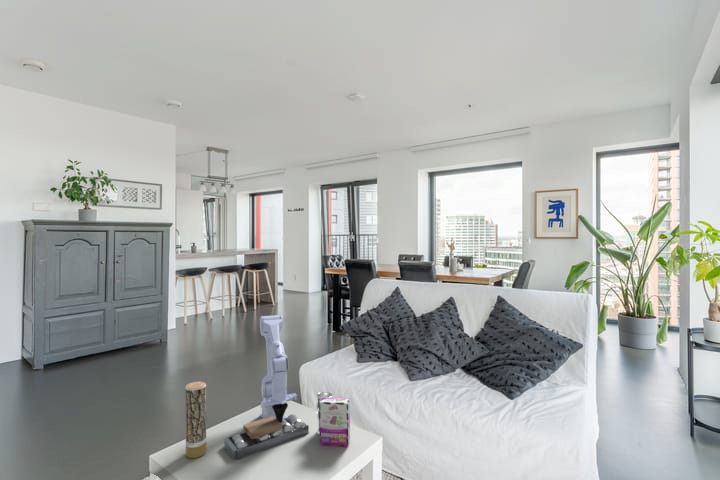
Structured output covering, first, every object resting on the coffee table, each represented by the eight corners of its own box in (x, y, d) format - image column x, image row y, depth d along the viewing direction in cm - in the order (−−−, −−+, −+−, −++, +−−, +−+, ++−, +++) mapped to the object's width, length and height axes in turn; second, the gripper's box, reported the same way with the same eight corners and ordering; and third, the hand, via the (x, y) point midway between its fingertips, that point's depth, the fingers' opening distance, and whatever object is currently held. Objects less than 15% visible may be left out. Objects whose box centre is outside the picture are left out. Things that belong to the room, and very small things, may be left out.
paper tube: (198, 460, 131) (198, 389, 131) (181, 458, 132) (181, 388, 132) (210, 449, 138) (210, 382, 138) (193, 447, 139) (193, 380, 139)
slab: (243, 429, 143) (243, 424, 143) (272, 420, 151) (272, 415, 151) (252, 439, 136) (252, 434, 136) (282, 429, 144) (282, 424, 144)
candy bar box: (350, 440, 144) (350, 398, 144) (348, 447, 139) (348, 403, 139) (322, 438, 146) (322, 396, 146) (319, 445, 141) (319, 402, 141)
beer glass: (334, 428, 153) (334, 391, 153) (331, 437, 147) (331, 399, 146) (317, 427, 154) (317, 391, 154) (314, 436, 147) (314, 398, 147)
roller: (238, 446, 141) (228, 444, 139) (243, 435, 143) (234, 433, 141) (245, 456, 135) (236, 454, 133) (251, 445, 136) (241, 442, 134)
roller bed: (223, 446, 140) (223, 434, 140) (294, 422, 158) (294, 411, 158) (234, 460, 131) (234, 448, 131) (308, 433, 150) (308, 422, 150)
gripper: (266, 395, 140) (266, 431, 140) (300, 386, 149) (300, 420, 149) (258, 389, 146) (258, 424, 146) (292, 380, 155) (292, 413, 155)
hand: (279, 421), depth 148 cm, fingers closed
